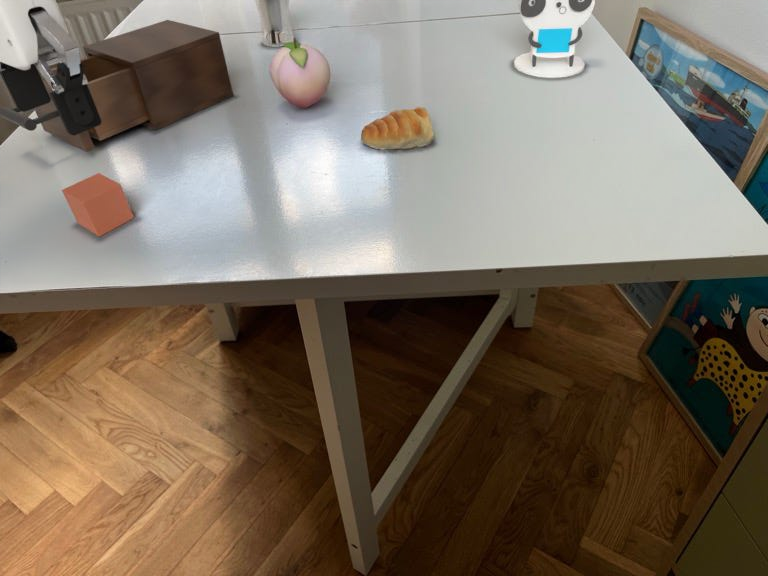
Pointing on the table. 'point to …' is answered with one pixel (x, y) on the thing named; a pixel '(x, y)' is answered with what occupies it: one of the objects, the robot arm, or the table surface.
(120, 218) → the block
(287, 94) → the decorative fruit
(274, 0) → the beer glass
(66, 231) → the table surface
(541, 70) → the panda figurine
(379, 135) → the pastry
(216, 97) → the cabinet
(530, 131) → the table surface
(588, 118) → the table surface
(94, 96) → the drawer
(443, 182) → the table surface
